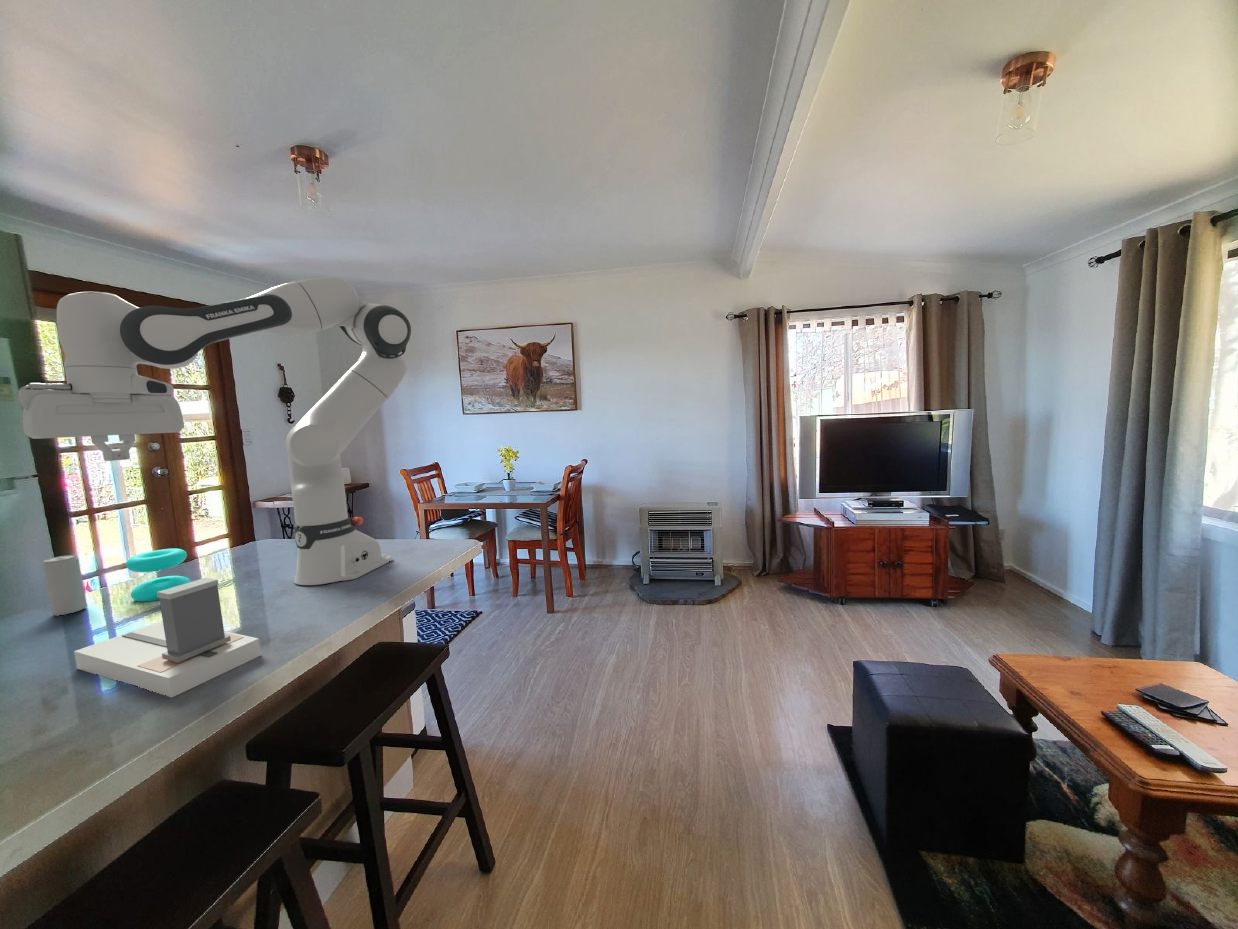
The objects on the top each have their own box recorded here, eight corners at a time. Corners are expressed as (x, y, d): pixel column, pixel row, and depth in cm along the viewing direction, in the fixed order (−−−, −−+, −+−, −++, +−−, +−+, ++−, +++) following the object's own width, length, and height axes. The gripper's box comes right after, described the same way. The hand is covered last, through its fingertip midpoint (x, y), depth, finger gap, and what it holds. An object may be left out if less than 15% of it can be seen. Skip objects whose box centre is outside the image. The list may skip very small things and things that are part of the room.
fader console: (77, 668, 75) (73, 650, 75) (169, 634, 86) (166, 618, 86) (171, 697, 66) (168, 676, 66) (261, 655, 77) (258, 637, 77)
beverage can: (62, 617, 96) (52, 562, 95) (46, 616, 97) (35, 561, 96) (93, 607, 101) (83, 554, 99) (76, 606, 102) (67, 554, 100)
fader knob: (162, 658, 70) (151, 592, 69) (215, 637, 77) (206, 576, 76) (178, 662, 69) (167, 595, 68) (230, 640, 75) (222, 578, 74)
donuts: (196, 545, 112) (165, 557, 102) (202, 584, 113) (171, 600, 103) (148, 549, 110) (111, 562, 100) (154, 589, 111) (118, 605, 101)
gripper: (24, 381, 73) (40, 467, 74) (183, 385, 92) (193, 454, 93) (5, 383, 75) (22, 467, 77) (164, 387, 94) (174, 454, 96)
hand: (117, 460), depth 85 cm, fingers closed
